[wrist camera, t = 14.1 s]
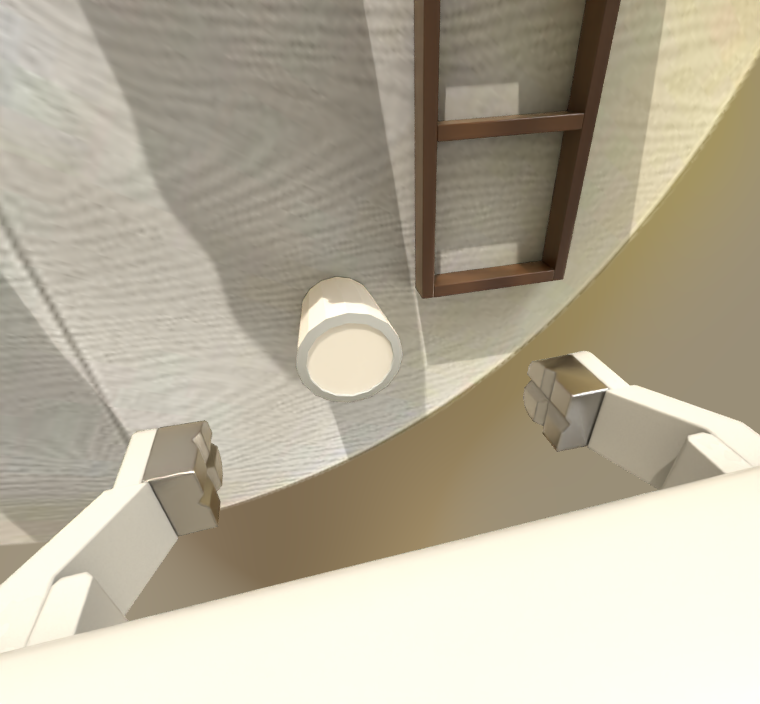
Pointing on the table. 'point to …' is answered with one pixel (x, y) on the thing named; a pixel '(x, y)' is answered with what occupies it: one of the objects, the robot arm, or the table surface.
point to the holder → (573, 123)
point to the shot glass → (345, 342)
